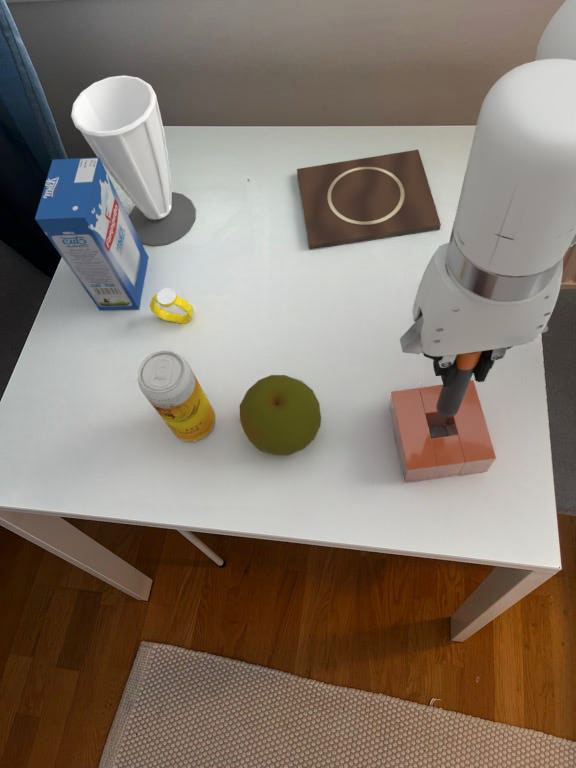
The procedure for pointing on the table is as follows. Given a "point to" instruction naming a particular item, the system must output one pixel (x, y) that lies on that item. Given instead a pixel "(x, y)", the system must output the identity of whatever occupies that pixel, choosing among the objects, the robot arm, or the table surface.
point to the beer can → (176, 395)
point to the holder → (443, 454)
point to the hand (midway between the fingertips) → (459, 370)
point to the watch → (168, 299)
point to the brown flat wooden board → (366, 199)
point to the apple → (280, 415)
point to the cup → (135, 154)
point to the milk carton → (93, 232)
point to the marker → (457, 384)
